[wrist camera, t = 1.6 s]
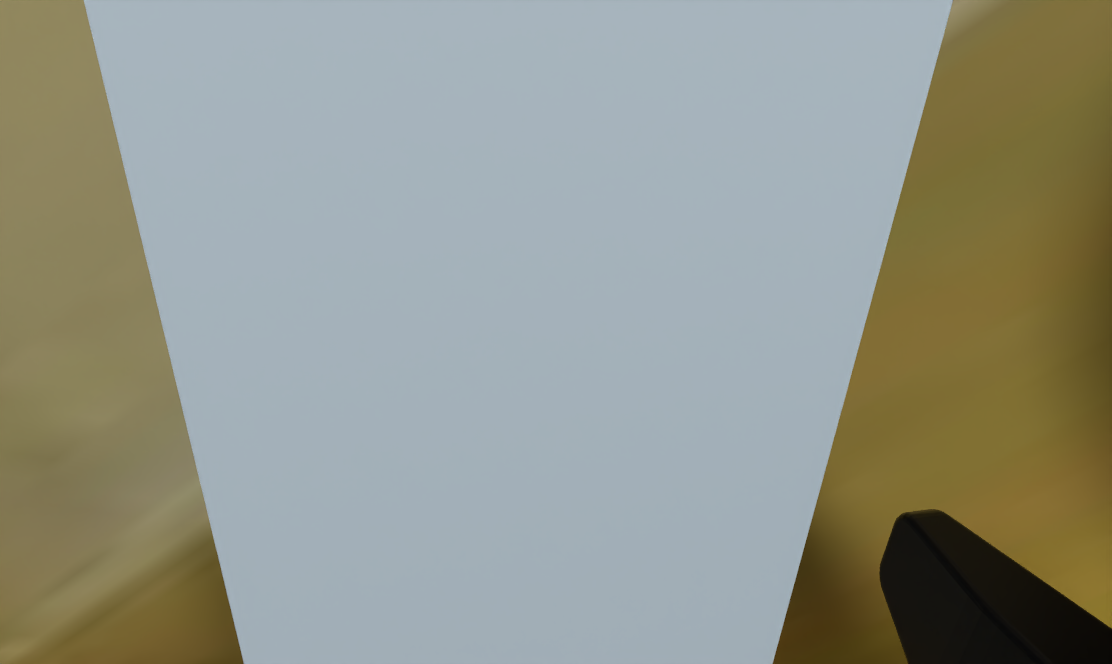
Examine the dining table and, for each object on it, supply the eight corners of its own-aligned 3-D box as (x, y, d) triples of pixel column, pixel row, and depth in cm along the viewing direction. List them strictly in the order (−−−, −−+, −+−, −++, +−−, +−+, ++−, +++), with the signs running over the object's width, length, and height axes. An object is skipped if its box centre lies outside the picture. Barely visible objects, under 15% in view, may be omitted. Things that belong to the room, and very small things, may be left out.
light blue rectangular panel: (252, -347, 9) (52, -134, 2) (489, -339, 10) (990, -135, 2) (366, 618, 17) (403, 1321, 10) (491, 601, 18) (608, 1268, 11)
